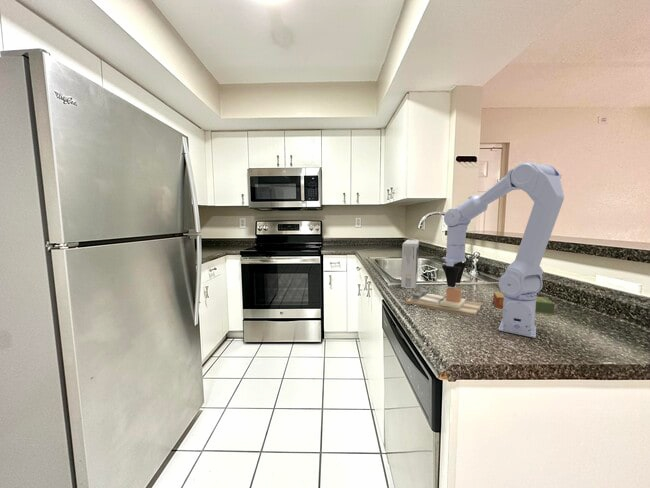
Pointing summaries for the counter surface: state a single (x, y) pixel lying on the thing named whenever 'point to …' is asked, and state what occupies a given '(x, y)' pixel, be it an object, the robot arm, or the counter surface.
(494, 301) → the carton
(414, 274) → the packaging
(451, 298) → the tan block on base
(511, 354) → the counter surface
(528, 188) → the robot arm
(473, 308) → the board
